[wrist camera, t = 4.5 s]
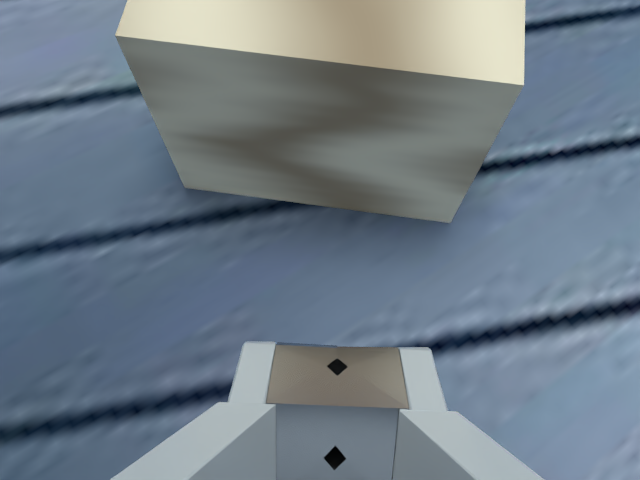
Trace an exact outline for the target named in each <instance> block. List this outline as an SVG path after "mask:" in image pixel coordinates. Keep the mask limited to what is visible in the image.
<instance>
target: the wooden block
mask: <svg viewBox="0 0 640 480" xmlns="http://www.w3.org/2000/svg"><path fill="white" fill-rule="evenodd" d="M115 36H116V38H117V41H118V43H119V45H120V47H121V49H122V52H123V54H124V56H125V58H126V60H127V62H128V65H129V67H130V69H131V71H132V73H133V76H134V78H135V80H136V82H137V84H138V86H139V89H140V91H141V93H142V95H143V97H144V100H145V102H146V104H147V106H148V108H149V111H150V113H151V115H152V117H153V119H154V121H155V124H156V126H157V128H158V130H159V132H160V135H161V137H162V139H163V141H164V143H165V146H166V148H167V150H168V152H169V154H170V156H171V159H172V161H173V163H174V165H175V167H176V170H177V172H178V174H179V176H180V178H181V181H182V183H183V185H184V187H185V188H190V189H198V190H205V191H213V192H220V193H228V194H235V195H243V196H251V197H258V198H266V199H273V200H281V201H288V202H296V203H303V204H311V205H318V206H326V207H333V208H341V209H348V210H356V211H363V212H371V213H378V214H386V215H393V216H401V217H408V218H416V219H423V220H431V221H438V222H446V223H451V221H452V219H453V217H454V215H455V214H456V212H457V210H458V208H459V206H460V204H461V202H462V200H463V199H464V197H465V195H466V193H467V191H468V189H469V187H470V185H471V184H472V182H473V180H474V178H475V176H476V174H477V172H478V170H479V169H480V167H481V165H482V163H483V161H484V159H485V157H486V155H487V154H488V152H489V150H490V148H491V146H492V144H493V142H494V140H495V139H496V137H497V135H498V133H499V131H500V129H501V127H502V125H503V124H504V122H505V120H506V118H507V116H508V114H509V112H510V110H511V108H512V107H513V105H514V103H515V101H516V99H517V97H518V95H519V93H520V92H521V90H522V88H523V86H524V47H525V0H127V3H126V6H125V9H124V12H123V15H122V18H121V20H120V23H119V26H118V29H117V32H116V35H115Z"/></svg>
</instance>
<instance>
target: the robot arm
mask: <svg viewBox="0 0 640 480" xmlns="http://www.w3.org/2000/svg"><path fill="white" fill-rule="evenodd" d="M110 480H544V479H543V478H541V477H540V476H539V475H538V474H536V473H535V472H534V471H532V470H531V469H530V468H529V467H527V466H526V465H525V464H524V463H522V462H521V461H520V460H518V459H517V458H516V457H515V456H513V455H512V454H511V453H510V452H508V451H507V450H506V449H504V448H503V447H502V446H501V445H499V444H498V443H497V442H495V441H494V440H493V439H492V438H490V437H489V436H488V435H487V434H485V433H484V432H483V431H481V430H480V429H479V428H478V427H476V426H475V425H474V424H472V423H471V422H470V421H469V420H467V419H466V418H465V417H464V416H462V415H461V414H460V413H458V412H454V411H448V409H447V406H446V402H445V398H444V395H443V391H442V387H441V384H440V380H439V377H438V373H437V369H436V366H435V362H434V359H433V355H432V351H431V350H430V349H429V348H428V347H398V348H395V347H337V346H333V345H316V344H299V343H282V342H277V344H276V343H275V342H264V341H246V342H245V343H244V344H243V346H242V350H241V354H240V357H239V361H238V365H237V369H236V372H235V376H234V380H233V383H232V387H231V391H230V394H229V398H228V402H218V403H216V404H215V405H214V406H212V407H211V408H209V409H208V410H207V411H205V412H204V413H202V414H201V415H200V416H198V417H197V418H195V419H194V420H193V421H191V422H190V423H188V424H187V425H186V426H184V427H183V428H181V429H180V430H179V431H177V432H176V433H174V434H173V435H172V436H170V437H169V438H167V439H166V440H165V441H163V442H162V443H160V444H159V445H158V446H156V447H155V448H153V449H152V450H151V451H149V452H148V453H147V454H145V455H144V456H142V457H141V458H140V459H138V460H137V461H135V462H134V463H133V464H131V465H130V466H128V467H127V468H126V469H124V470H123V471H121V472H120V473H119V474H117V475H116V476H114V477H113V478H112V479H110Z"/></svg>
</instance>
